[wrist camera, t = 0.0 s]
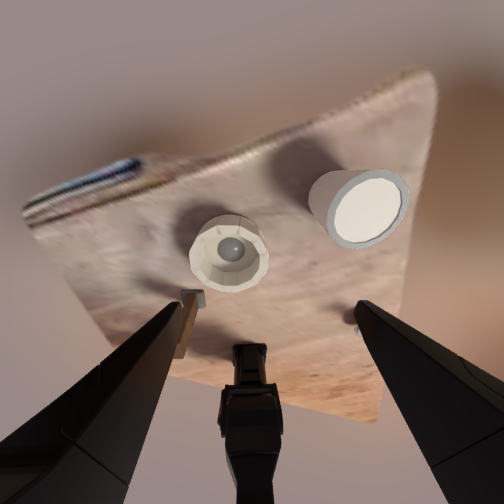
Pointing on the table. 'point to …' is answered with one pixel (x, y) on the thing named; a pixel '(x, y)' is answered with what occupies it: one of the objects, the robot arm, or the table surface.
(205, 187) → the table surface
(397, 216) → the white tapered cylinder
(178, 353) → the brown wooden handle
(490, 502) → the robot arm
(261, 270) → the white bowl
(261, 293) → the table surface
